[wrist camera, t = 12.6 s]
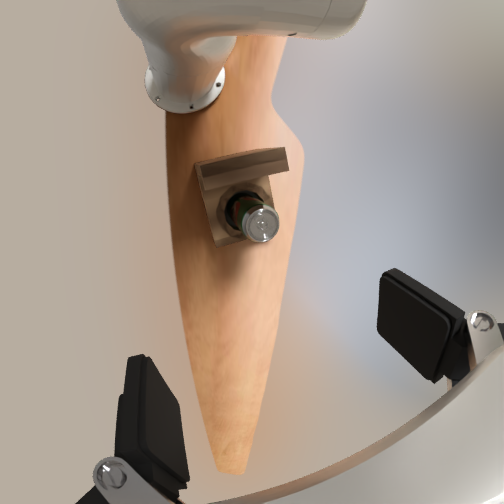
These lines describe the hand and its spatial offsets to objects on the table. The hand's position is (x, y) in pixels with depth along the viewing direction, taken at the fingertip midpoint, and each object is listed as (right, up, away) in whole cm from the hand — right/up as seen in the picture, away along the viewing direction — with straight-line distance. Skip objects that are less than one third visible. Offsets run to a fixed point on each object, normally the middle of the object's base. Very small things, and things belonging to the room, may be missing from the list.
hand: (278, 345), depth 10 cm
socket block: (-4, +13, +34) cm, 37 cm away
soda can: (-3, +11, +35) cm, 37 cm away
